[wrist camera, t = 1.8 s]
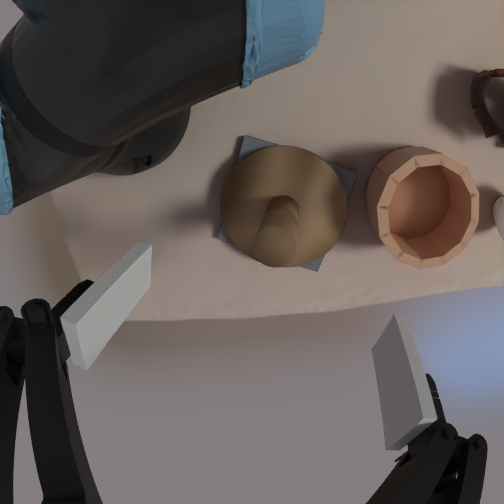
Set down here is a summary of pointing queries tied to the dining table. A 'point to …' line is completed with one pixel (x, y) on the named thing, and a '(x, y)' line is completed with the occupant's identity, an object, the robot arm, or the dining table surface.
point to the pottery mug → (479, 103)
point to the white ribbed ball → (499, 215)
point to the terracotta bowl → (422, 206)
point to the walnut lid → (284, 206)
